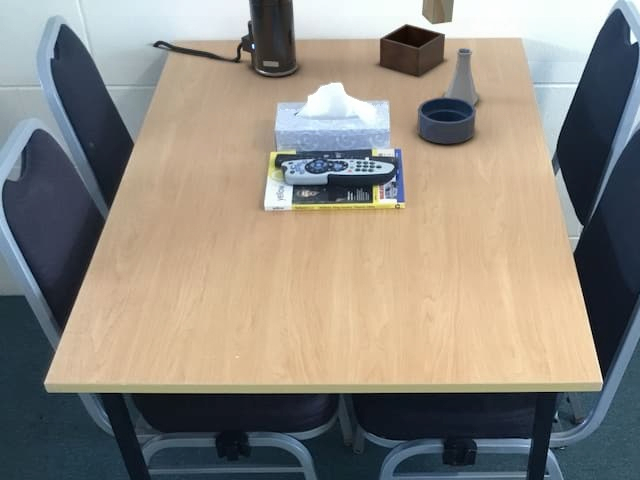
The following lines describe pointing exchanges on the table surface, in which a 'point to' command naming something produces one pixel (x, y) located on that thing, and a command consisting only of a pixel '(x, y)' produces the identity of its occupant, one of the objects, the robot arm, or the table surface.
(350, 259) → the table surface
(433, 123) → the bowl
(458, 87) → the flask
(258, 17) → the robot arm
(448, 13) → the box
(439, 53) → the box
